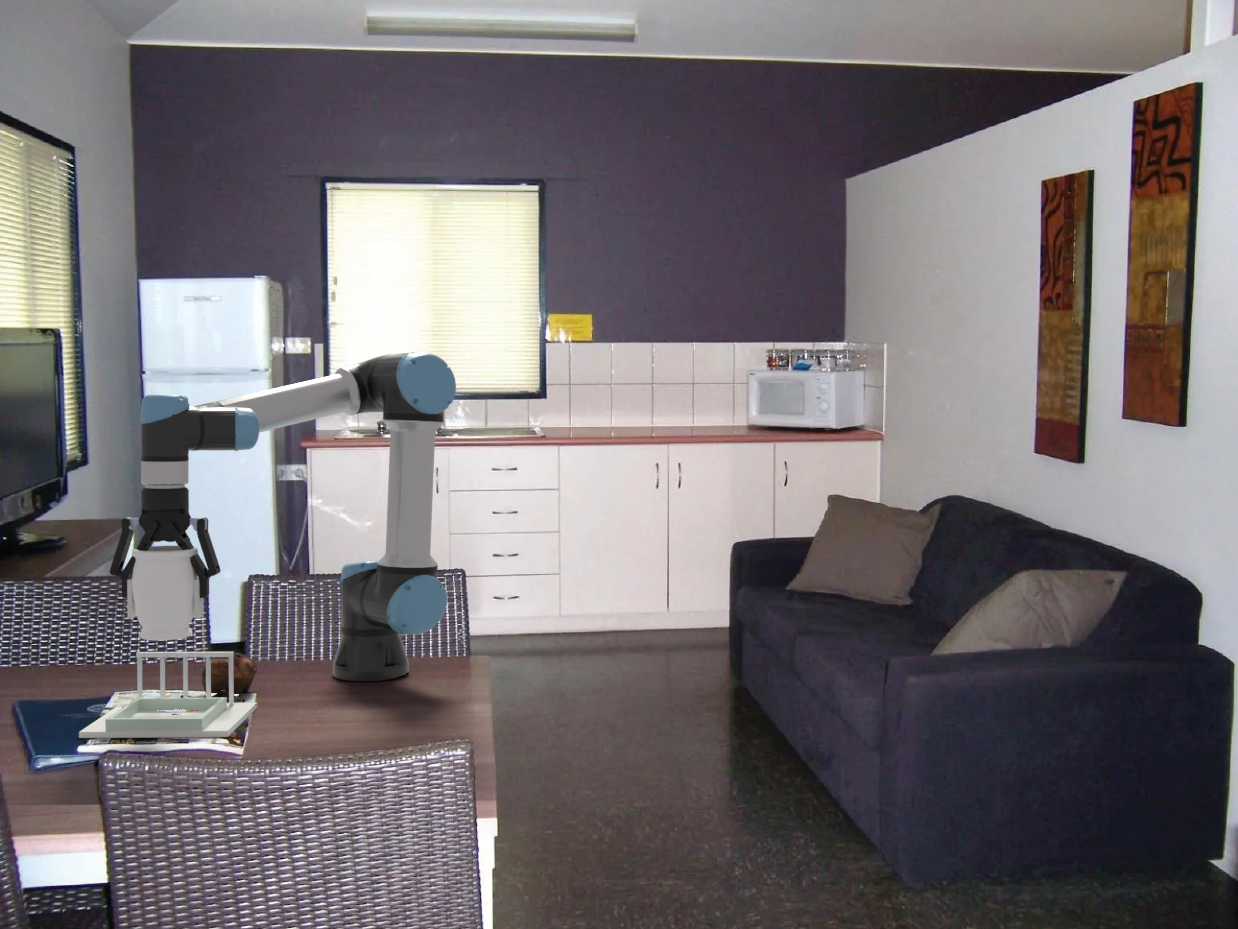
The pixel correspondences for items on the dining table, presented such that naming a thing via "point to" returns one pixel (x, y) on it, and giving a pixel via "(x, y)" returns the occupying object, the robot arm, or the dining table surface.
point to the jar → (164, 591)
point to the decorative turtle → (241, 669)
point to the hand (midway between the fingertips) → (165, 617)
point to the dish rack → (149, 722)
